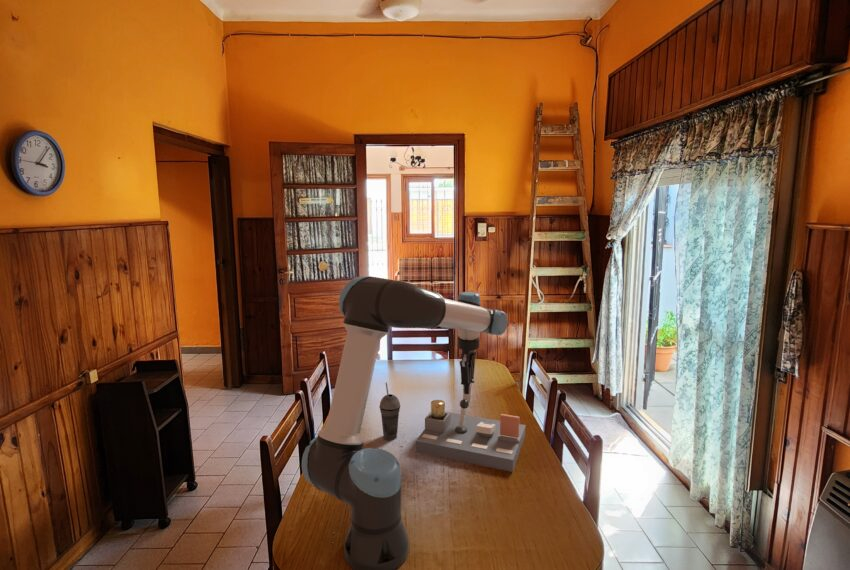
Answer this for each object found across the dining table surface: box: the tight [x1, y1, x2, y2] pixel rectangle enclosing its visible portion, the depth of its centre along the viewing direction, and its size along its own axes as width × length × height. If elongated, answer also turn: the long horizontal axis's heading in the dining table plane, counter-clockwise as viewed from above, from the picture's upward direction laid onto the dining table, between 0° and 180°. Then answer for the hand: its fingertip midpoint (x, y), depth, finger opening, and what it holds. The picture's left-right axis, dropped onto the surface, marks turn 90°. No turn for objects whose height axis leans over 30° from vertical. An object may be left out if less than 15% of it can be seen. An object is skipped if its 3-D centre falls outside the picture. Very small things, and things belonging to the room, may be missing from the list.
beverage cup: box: [378, 382, 401, 441], centre depth 161 cm, size 7×7×20 cm
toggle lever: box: [459, 398, 470, 426], centre depth 160 cm, size 3×3×9 cm
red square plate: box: [499, 413, 520, 438], centre depth 153 cm, size 1×6×7 cm, turn 69°
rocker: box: [476, 422, 495, 434], centre depth 156 cm, size 7×5×2 cm
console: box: [415, 411, 527, 473], centre depth 158 cm, size 24×32×8 cm
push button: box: [430, 399, 446, 420], centre depth 161 cm, size 5×5×6 cm
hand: (467, 401), depth 165 cm, fingers closed
